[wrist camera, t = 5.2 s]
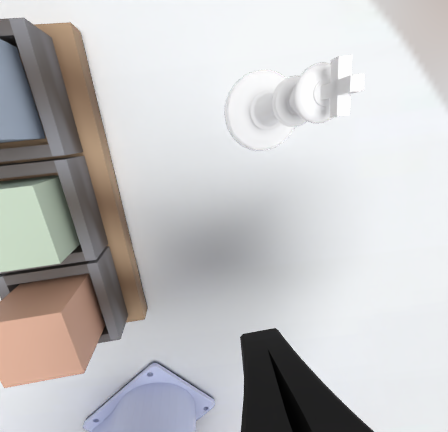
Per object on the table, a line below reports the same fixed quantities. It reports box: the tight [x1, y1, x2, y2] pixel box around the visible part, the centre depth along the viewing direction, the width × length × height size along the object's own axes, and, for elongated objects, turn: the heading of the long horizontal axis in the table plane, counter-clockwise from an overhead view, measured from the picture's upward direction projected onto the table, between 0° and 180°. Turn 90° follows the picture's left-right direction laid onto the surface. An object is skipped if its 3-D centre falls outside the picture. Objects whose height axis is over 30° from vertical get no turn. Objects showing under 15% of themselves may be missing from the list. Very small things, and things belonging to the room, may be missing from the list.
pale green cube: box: [0, 175, 80, 272], centre depth 13 cm, size 4×4×4 cm
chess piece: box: [225, 55, 365, 151], centre depth 12 cm, size 5×5×10 cm
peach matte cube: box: [0, 274, 105, 388], centre depth 14 cm, size 4×4×4 cm
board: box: [0, 18, 147, 343], centre depth 15 cm, size 19×8×4 cm, turn 6°
